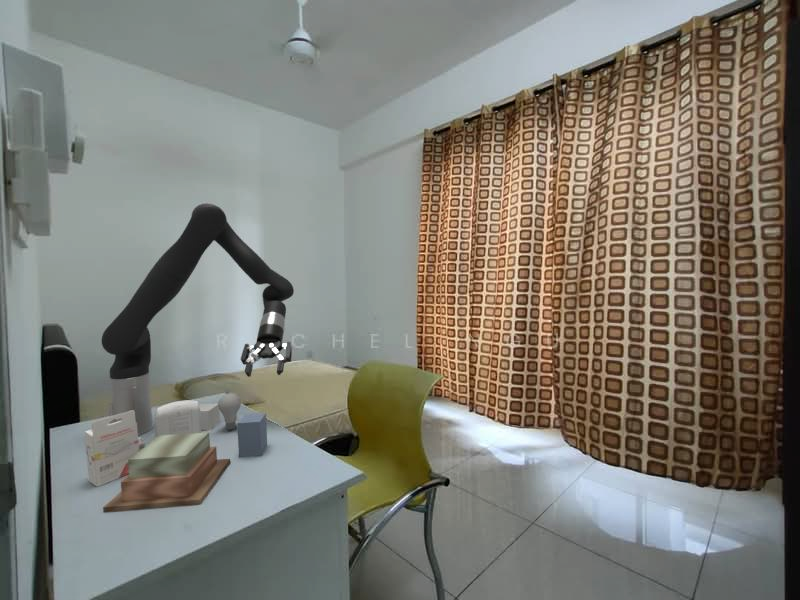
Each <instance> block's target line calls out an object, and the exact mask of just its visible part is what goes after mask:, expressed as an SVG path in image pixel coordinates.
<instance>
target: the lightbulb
mask: <svg viewBox="0 0 800 600" xmlns="http://www.w3.org/2000/svg"><path fill="white" fill-rule="evenodd" d="M217 404H218V407H219V411H220V413H221V414H222V416H223V418H224V423H225V427H226V430H229V431H232V430H233V429H235V428H236V424H237V423H236V420H237V417H238V416H237V415H238V412H239V410H240V409H241V408H240V407H241V404H242V401H241V398H240V396H239V395H238V394H236V393H233V392H231V393H225V394H224V395H223V396H221V397H220V398H219V401H218V403H217Z"/></svg>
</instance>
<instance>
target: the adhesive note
mask: <svg viewBox="0 0 800 600" xmlns="http://www.w3.org/2000/svg"><path fill="white" fill-rule="evenodd" d="M199 407H200V418H201V431H210V430H212V429H213V428H214V427H215V426H216V425H218V424H220V423H221V415H220V413H221V411H220V410H219V407H218V403H200V404H199Z"/></svg>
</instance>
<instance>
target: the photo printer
mask: <svg viewBox="0 0 800 600" xmlns="http://www.w3.org/2000/svg"><path fill="white" fill-rule="evenodd" d="M199 405H200V404H199V402H198V401H197V400H191V399H190V400H187V399H185V400H177V401H173V402H170V403H165V404H163V405H161V406H159V407H157V410H156V414H155V433H156V438H157V437H158V436H159V435H175V434H191V433H202V430H201V418H200V407H199Z"/></svg>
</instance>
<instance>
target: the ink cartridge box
mask: <svg viewBox="0 0 800 600" xmlns="http://www.w3.org/2000/svg"><path fill="white" fill-rule="evenodd" d="M113 419H116V420H117V419H122V421H118V422H115V423H112V424H108V423H109V422H111V421H112V420H113ZM138 437H139V435H138V431H137V422H136V419H135V412H134V410H131V411H128V412H125V413H121V414H117V415H114V416H110V417H109V416H107V417H104V418H101V419H97V420H94V421H92V422H91V429H89V430H85V431H84V442H85V444H84V445H85V453H86V464H87V473H88V474H87V475H88V481H89V482H90V483H91V484H93V486H95V487H97V488H98V487H101V486H104V485H105V484H108V483H110V482H112V481H115V480H118V479H120V478H122V477H125V476H128V475H129V464H128V459H130V458H131V457H132V456H134V455H135V454H136V453H138V452H139V451H140V450H139V443H138Z"/></svg>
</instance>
